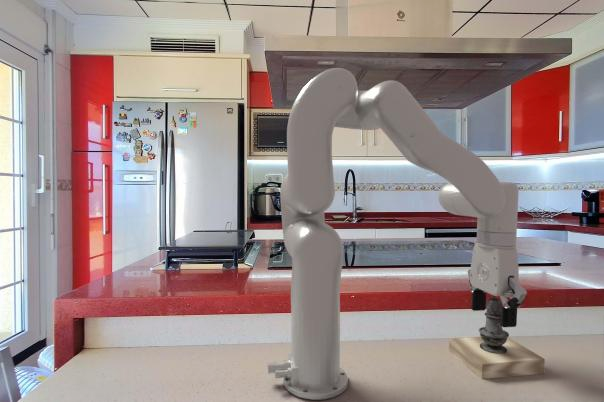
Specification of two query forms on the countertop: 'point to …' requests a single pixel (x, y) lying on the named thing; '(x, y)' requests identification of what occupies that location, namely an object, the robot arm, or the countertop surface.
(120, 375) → the countertop surface
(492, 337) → the weathered stone finial
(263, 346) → the countertop surface
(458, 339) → the birch base block
